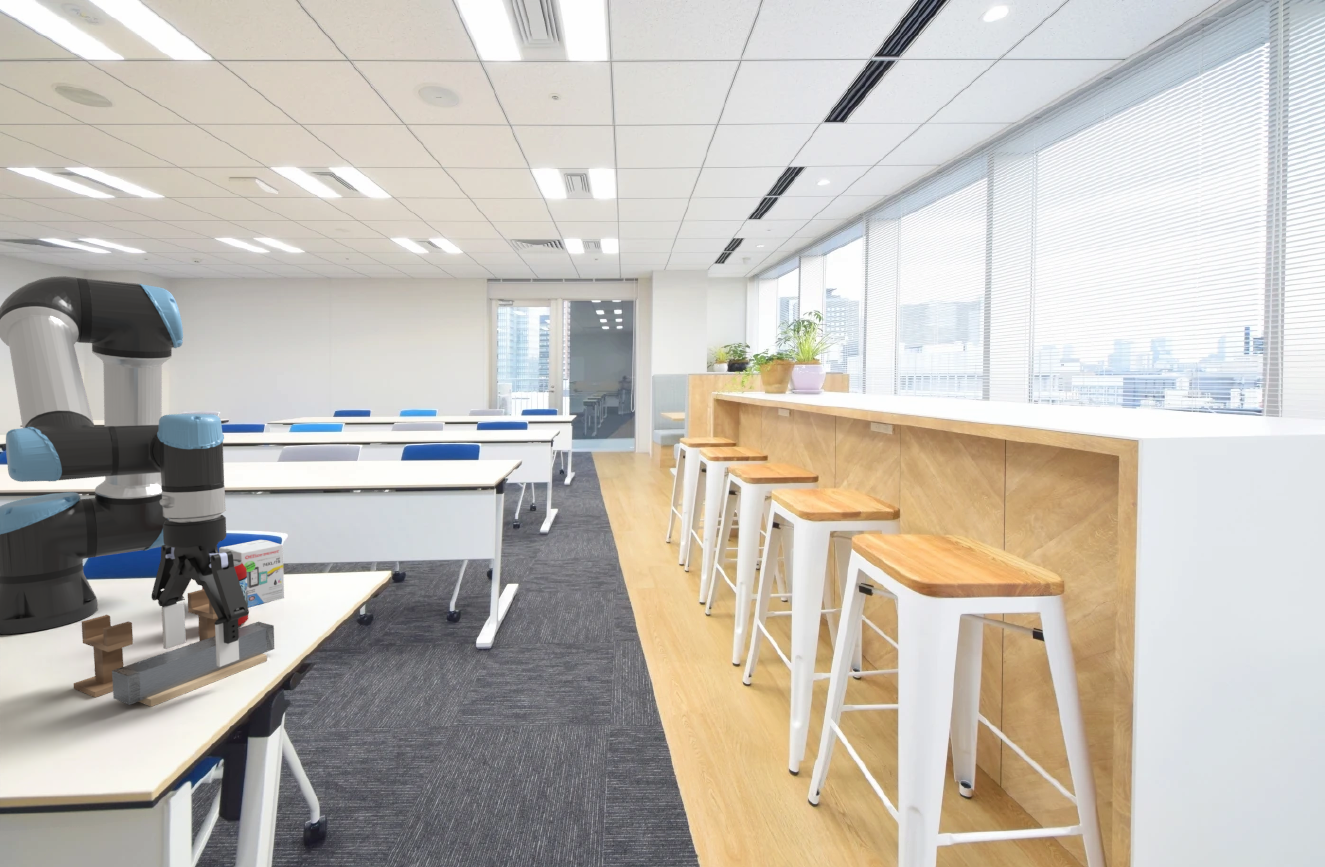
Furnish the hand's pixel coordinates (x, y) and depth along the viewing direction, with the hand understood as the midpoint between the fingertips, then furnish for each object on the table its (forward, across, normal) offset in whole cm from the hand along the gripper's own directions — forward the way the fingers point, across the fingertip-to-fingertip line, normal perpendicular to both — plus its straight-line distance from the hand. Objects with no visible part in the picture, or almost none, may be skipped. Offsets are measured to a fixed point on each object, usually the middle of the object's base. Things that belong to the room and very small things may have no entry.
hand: (200, 654), depth 93 cm
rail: (+3, 0, 0) cm, 3 cm away
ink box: (+4, -28, +25) cm, 38 cm away
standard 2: (+4, -10, +7) cm, 13 cm away
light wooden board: (+4, 0, 0) cm, 4 cm away
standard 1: (+4, -10, -7) cm, 13 cm away
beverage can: (+4, -18, +14) cm, 23 cm away
